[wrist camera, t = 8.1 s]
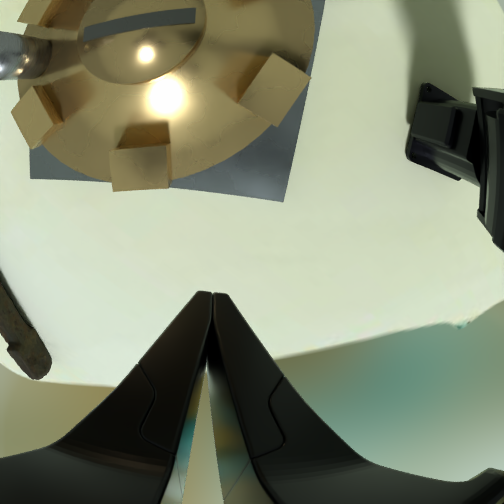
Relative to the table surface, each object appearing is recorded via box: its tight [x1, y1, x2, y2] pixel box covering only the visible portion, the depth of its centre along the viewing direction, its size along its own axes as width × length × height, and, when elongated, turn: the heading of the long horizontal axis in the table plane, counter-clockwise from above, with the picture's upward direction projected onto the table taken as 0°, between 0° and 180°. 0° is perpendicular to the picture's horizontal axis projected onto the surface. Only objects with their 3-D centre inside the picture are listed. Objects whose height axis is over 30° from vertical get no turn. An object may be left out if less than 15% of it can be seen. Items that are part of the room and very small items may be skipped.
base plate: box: [30, 0, 325, 202], centre depth 13 cm, size 18×18×2 cm
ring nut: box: [0, 0, 315, 192], centre depth 9 cm, size 16×16×7 cm
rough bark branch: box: [0, 282, 52, 380], centre depth 20 cm, size 19×4×5 cm, turn 8°
